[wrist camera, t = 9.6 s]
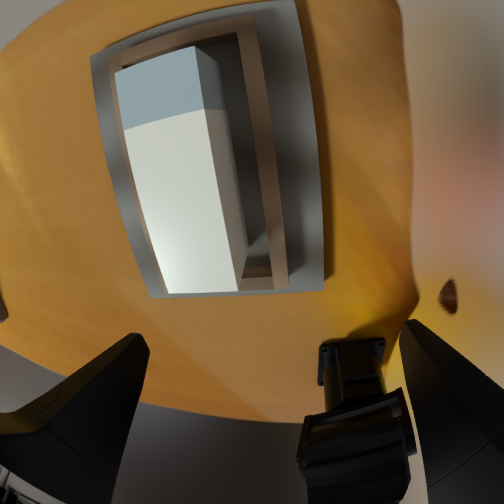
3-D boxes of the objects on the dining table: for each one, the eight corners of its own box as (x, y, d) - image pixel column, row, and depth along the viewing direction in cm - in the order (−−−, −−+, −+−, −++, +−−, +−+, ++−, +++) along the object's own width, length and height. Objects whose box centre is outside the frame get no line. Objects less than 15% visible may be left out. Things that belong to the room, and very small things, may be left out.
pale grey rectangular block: (249, 246, 19) (238, 291, 14) (193, 251, 19) (168, 293, 15) (219, 64, 13) (194, 45, 9) (157, 80, 14) (114, 73, 9)
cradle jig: (322, 282, 21) (326, 302, 18) (155, 291, 23) (143, 309, 21) (293, 5, 11) (294, -11, 9) (97, 57, 14) (77, 54, 11)
